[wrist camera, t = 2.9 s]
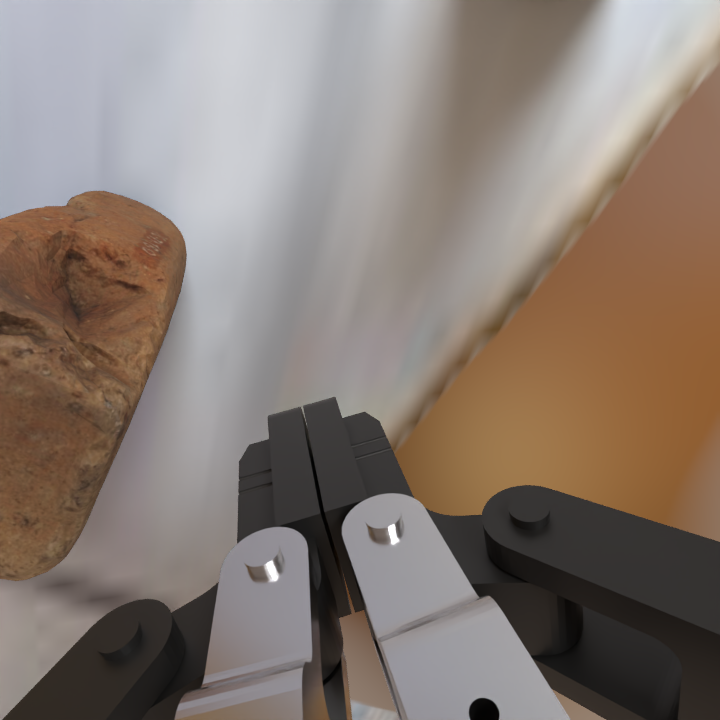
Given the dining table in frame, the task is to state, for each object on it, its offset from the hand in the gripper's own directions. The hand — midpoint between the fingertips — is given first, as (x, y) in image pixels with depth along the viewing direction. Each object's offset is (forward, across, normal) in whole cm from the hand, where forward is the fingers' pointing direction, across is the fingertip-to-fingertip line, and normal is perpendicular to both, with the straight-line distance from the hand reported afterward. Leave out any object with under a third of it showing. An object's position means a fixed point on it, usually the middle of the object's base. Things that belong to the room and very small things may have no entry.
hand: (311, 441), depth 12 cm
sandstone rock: (+24, +10, 0) cm, 26 cm away
